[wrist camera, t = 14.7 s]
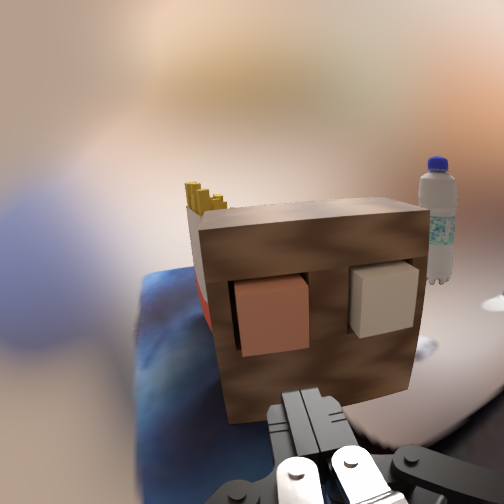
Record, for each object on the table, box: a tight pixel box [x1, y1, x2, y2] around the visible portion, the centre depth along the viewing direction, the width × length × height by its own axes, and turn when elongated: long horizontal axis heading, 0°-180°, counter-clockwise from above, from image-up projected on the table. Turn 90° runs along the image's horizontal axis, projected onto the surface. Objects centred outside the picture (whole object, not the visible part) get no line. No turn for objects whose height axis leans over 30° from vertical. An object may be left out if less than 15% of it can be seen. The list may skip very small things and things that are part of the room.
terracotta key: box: [234, 273, 309, 357], centre depth 22 cm, size 4×4×4 cm
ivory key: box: [347, 260, 419, 338], centre depth 22 cm, size 4×4×4 cm
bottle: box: [418, 156, 458, 285], centre depth 44 cm, size 7×7×20 cm
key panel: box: [198, 197, 430, 424], centre depth 26 cm, size 16×8×16 cm, turn 95°
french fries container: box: [185, 182, 233, 334], centre depth 39 cm, size 5×11×18 cm, turn 19°
